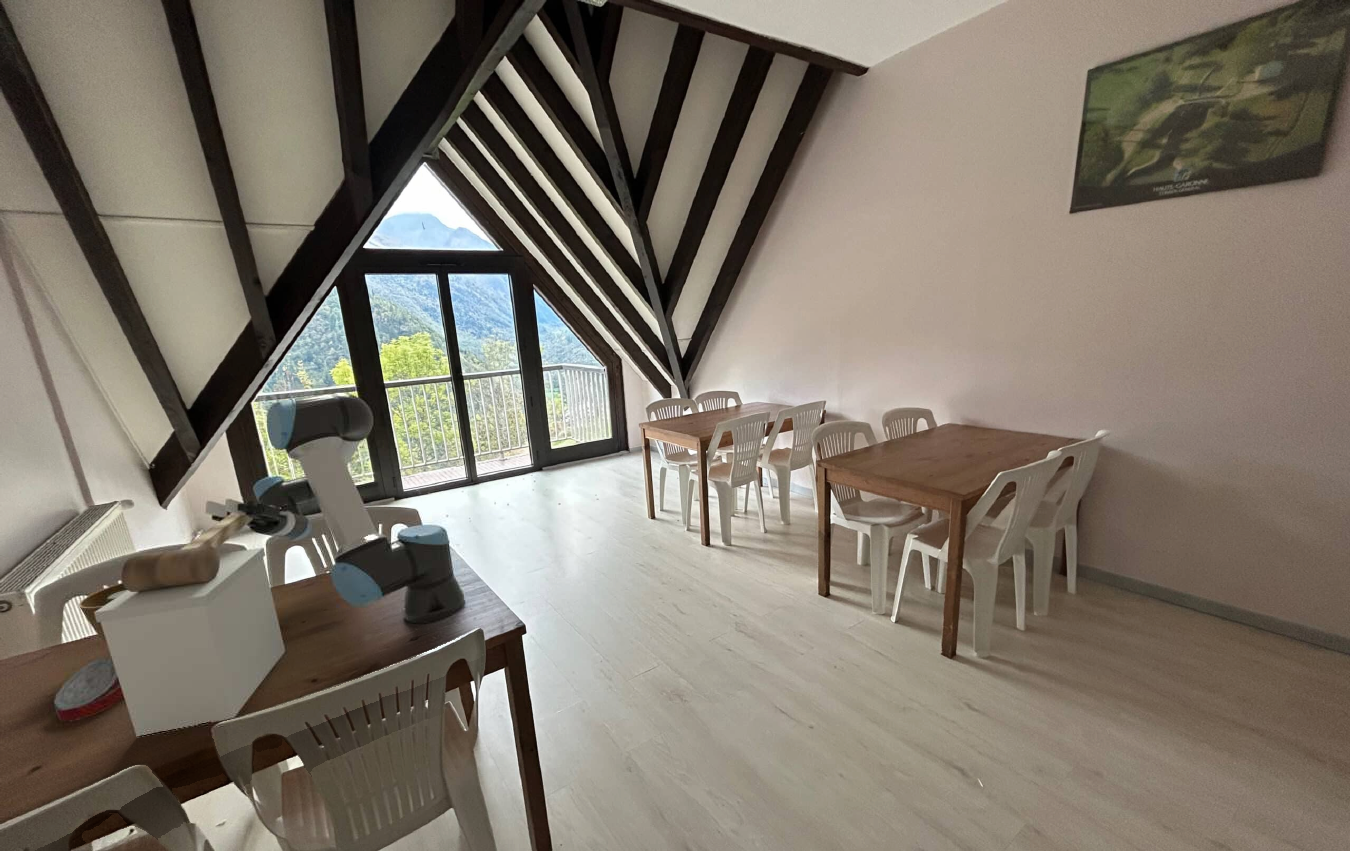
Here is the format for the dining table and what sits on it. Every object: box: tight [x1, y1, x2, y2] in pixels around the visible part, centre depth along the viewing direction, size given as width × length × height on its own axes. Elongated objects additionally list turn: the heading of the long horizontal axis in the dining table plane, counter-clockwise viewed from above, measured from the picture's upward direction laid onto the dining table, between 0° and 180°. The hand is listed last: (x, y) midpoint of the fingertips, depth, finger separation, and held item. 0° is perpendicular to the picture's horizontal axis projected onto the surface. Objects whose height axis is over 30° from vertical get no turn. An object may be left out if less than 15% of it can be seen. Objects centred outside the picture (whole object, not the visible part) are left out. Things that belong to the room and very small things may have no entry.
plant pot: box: [78, 582, 127, 646], centre depth 126 cm, size 15×15×16 cm
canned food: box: [53, 656, 124, 722], centre depth 108 cm, size 11×10×10 cm
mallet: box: [121, 512, 253, 592], centre depth 112 cm, size 30×12×7 cm, turn 15°
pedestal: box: [94, 547, 286, 737], centre depth 108 cm, size 22×17×27 cm
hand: (217, 505), depth 117 cm, fingers closed on mallet, 3 cm apart
